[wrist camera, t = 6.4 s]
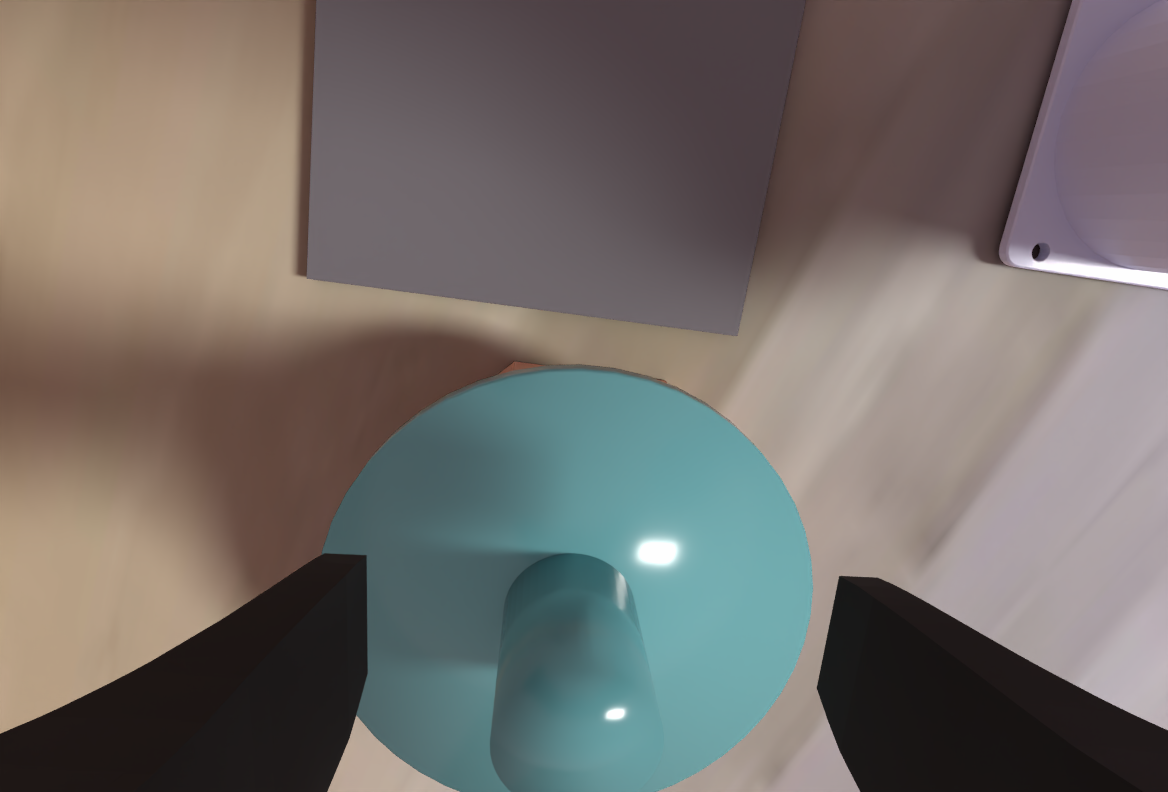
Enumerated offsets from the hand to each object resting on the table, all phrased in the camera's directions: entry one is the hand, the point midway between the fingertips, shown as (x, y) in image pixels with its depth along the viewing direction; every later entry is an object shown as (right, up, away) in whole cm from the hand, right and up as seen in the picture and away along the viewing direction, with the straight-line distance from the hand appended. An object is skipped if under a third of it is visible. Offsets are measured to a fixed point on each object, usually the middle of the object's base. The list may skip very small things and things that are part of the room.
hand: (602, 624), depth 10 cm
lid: (-1, -2, +7) cm, 7 cm away
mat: (-1, +12, +7) cm, 14 cm away
